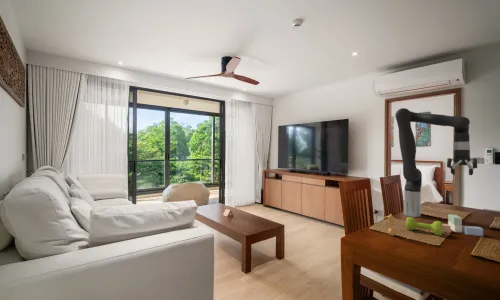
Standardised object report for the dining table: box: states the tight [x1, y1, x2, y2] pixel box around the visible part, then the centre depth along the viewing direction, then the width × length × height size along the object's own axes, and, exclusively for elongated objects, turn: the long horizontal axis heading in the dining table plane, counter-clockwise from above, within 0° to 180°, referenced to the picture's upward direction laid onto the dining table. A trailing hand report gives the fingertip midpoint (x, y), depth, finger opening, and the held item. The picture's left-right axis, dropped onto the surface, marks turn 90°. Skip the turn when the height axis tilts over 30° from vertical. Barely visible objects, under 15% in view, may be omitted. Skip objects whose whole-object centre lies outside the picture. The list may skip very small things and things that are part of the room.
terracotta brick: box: [442, 223, 451, 234], centre depth 129 cm, size 7×3×4 cm, turn 69°
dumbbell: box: [405, 216, 444, 237], centre depth 128 cm, size 16×8×7 cm, turn 51°
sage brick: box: [447, 213, 463, 226], centre depth 131 cm, size 3×7×4 cm, turn 159°
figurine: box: [382, 213, 401, 236], centre depth 123 cm, size 8×6×12 cm
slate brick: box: [462, 225, 484, 237], centre depth 124 cm, size 7×3×4 cm, turn 70°
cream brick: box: [447, 220, 463, 233], centre depth 131 cm, size 3×7×4 cm, turn 165°
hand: (461, 174), depth 143 cm, fingers open, 8 cm apart
